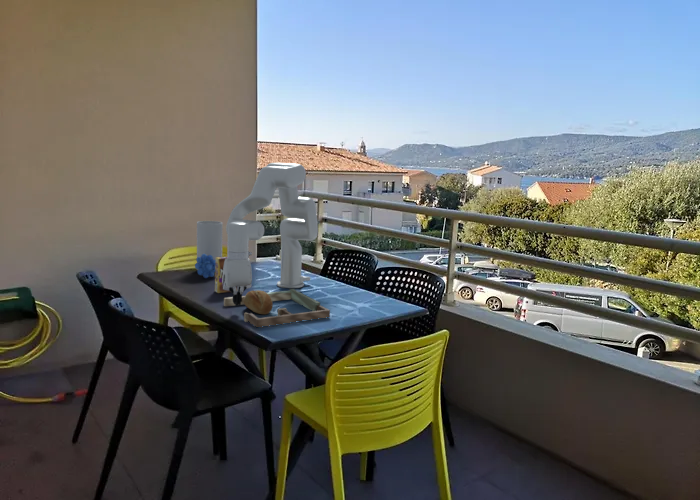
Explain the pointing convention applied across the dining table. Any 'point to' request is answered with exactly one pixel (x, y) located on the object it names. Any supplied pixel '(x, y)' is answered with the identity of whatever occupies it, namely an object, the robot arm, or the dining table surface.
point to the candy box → (219, 275)
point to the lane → (282, 295)
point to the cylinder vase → (209, 238)
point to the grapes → (205, 265)
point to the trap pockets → (289, 317)
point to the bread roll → (258, 302)
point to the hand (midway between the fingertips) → (237, 304)
